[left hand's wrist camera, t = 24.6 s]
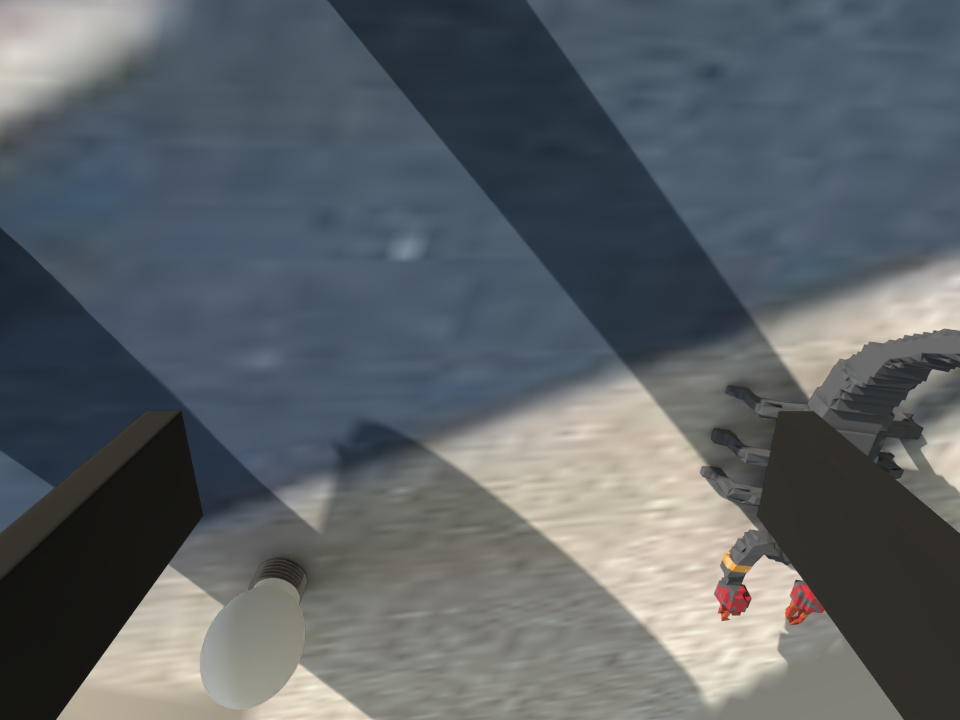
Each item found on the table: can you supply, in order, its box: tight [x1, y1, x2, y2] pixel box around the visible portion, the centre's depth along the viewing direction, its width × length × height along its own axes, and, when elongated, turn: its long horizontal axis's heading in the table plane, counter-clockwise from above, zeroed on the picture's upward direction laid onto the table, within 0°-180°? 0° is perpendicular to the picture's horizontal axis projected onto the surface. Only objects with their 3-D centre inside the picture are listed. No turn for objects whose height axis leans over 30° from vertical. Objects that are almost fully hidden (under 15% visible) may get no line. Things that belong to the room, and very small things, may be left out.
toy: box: [700, 329, 960, 625], centre depth 35 cm, size 13×27×18 cm, turn 172°
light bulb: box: [200, 559, 307, 709], centre depth 42 cm, size 7×7×11 cm
